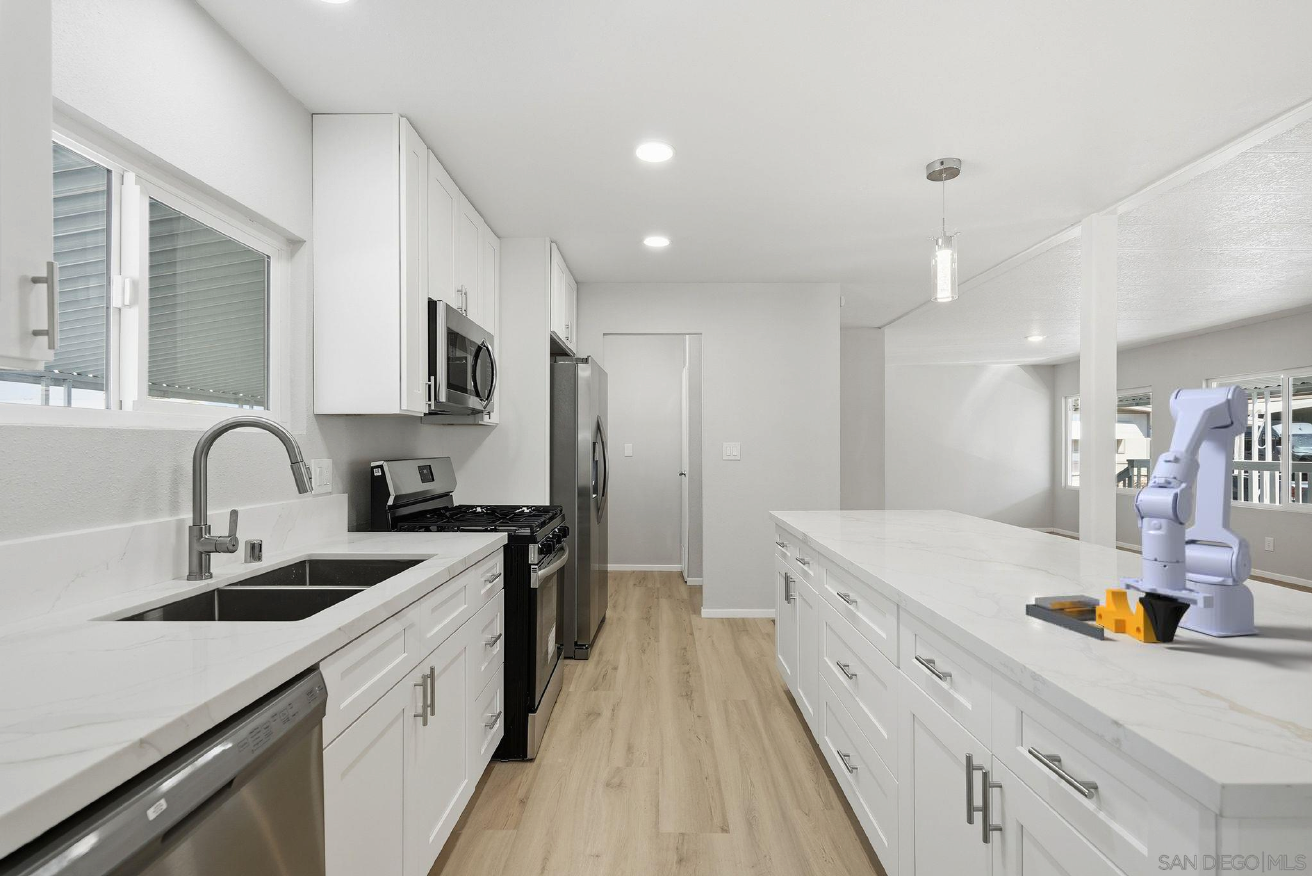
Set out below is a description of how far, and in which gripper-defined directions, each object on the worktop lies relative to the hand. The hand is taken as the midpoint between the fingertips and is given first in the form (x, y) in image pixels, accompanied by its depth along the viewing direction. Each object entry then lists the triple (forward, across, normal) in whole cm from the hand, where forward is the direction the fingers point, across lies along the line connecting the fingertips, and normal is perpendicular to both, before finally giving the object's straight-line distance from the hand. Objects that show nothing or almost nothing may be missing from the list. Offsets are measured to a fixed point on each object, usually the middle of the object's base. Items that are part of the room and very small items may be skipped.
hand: (1164, 641), depth 108 cm
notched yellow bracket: (+1, -8, +2) cm, 9 cm away
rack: (+1, -14, 0) cm, 14 cm away
